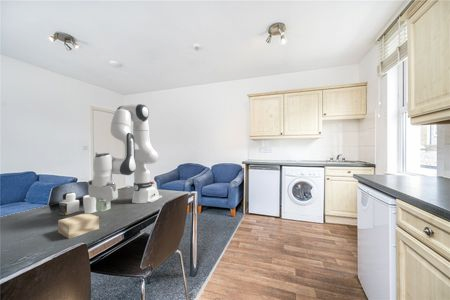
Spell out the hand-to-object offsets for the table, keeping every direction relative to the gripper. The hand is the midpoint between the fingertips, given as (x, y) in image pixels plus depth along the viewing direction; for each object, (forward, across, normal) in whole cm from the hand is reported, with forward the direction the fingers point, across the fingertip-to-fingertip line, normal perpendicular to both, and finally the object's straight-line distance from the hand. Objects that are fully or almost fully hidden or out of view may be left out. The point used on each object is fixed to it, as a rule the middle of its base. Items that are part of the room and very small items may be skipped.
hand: (103, 205), depth 104 cm
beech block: (+7, -5, +15) cm, 17 cm away
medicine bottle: (+7, +28, +2) cm, 29 cm away
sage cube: (+2, 0, 0) cm, 2 cm away
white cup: (+7, +17, -4) cm, 19 cm away
